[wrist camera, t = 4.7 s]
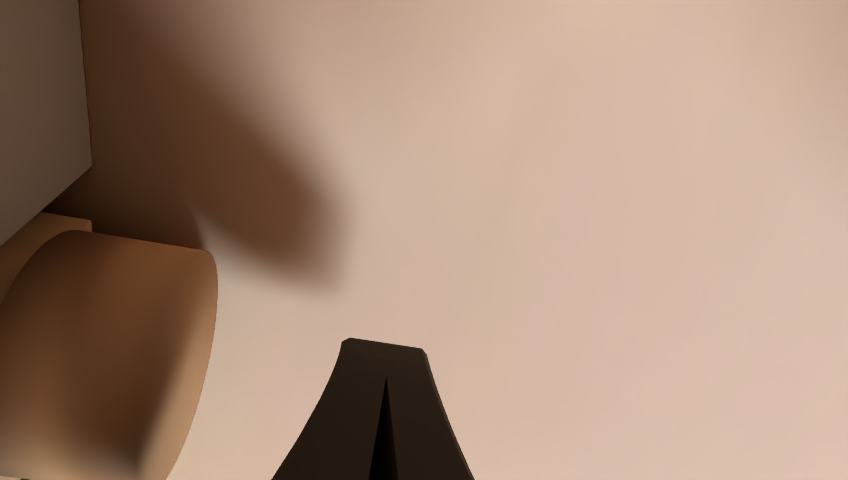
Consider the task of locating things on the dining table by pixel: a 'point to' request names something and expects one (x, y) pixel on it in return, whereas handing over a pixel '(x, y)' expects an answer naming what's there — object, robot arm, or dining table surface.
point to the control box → (40, 107)
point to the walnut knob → (99, 351)
